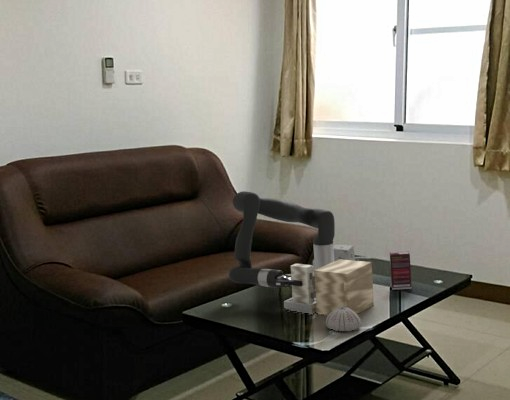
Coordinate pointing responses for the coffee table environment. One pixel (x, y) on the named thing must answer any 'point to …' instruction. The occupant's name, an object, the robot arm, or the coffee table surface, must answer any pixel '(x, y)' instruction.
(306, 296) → the beige upright rectangular block
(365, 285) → the patterned beige box
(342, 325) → the sea urchin shell
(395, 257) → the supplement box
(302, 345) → the coffee table surface
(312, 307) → the grey rectangular tray
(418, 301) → the coffee table surface
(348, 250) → the incense holder
